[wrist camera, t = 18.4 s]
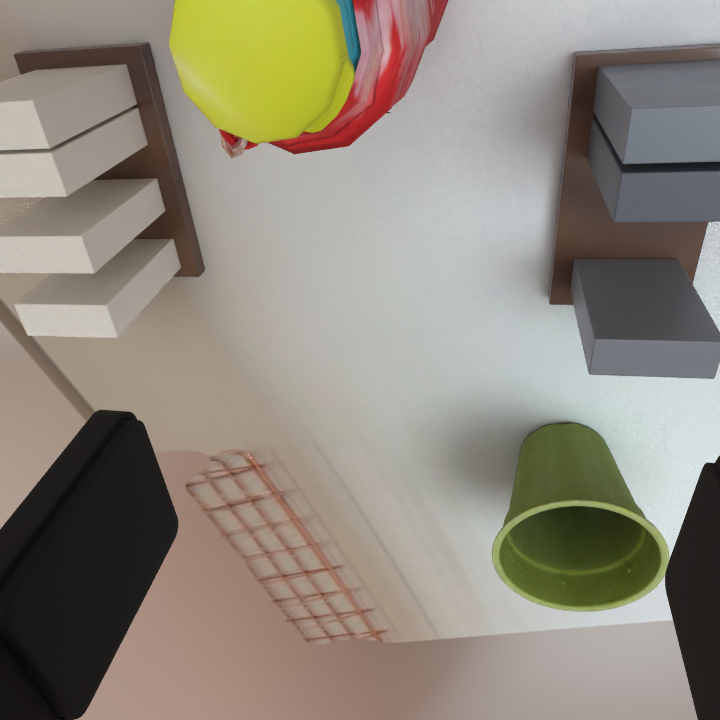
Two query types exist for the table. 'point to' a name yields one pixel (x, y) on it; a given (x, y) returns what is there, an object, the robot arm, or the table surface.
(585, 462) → the plant pot
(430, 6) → the water bottle
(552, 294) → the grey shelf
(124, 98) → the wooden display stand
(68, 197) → the beige box
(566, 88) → the table surface
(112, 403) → the table surface
